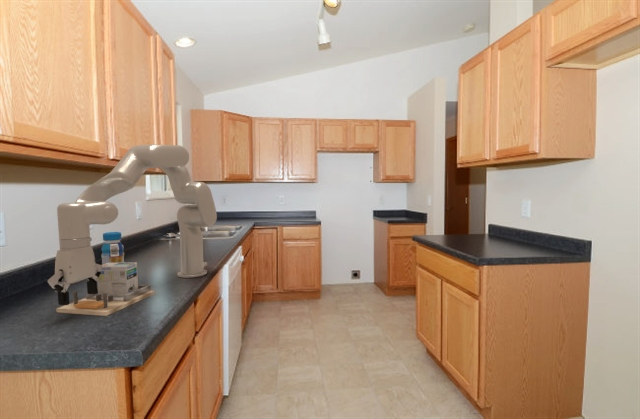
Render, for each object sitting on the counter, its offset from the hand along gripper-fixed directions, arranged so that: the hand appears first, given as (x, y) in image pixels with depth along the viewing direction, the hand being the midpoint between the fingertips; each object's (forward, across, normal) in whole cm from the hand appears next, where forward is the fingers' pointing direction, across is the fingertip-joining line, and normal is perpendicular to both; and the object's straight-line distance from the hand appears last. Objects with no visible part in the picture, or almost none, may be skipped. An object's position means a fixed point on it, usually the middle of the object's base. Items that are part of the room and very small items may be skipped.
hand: (79, 299), depth 101 cm
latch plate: (+4, -4, 0) cm, 5 cm away
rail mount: (+5, -12, 0) cm, 13 cm away
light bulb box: (+4, -15, 0) cm, 16 cm away
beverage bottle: (+6, -38, -23) cm, 45 cm away
